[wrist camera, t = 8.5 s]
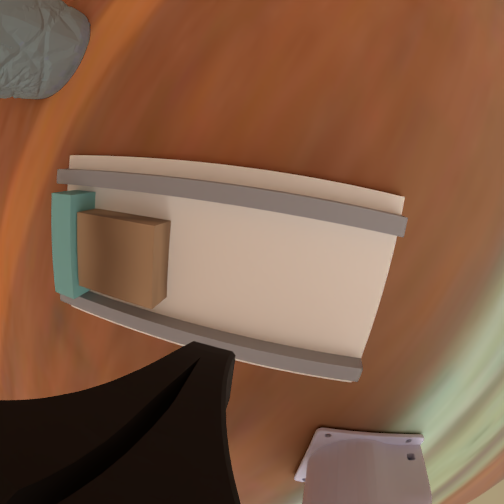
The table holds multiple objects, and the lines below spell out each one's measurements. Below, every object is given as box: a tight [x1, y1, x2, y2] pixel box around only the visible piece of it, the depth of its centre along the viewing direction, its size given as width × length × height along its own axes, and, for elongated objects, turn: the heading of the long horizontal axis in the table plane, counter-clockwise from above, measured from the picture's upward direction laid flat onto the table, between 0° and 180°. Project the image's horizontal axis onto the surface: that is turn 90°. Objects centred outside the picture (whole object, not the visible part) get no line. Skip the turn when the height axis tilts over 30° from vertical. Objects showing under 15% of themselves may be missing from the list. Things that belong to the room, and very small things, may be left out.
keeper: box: [77, 208, 171, 309], centre depth 18 cm, size 6×5×2 cm
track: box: [51, 155, 408, 382], centre depth 17 cm, size 22×12×3 cm, turn 82°
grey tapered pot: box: [0, 0, 90, 99], centre depth 11 cm, size 10×10×12 cm
